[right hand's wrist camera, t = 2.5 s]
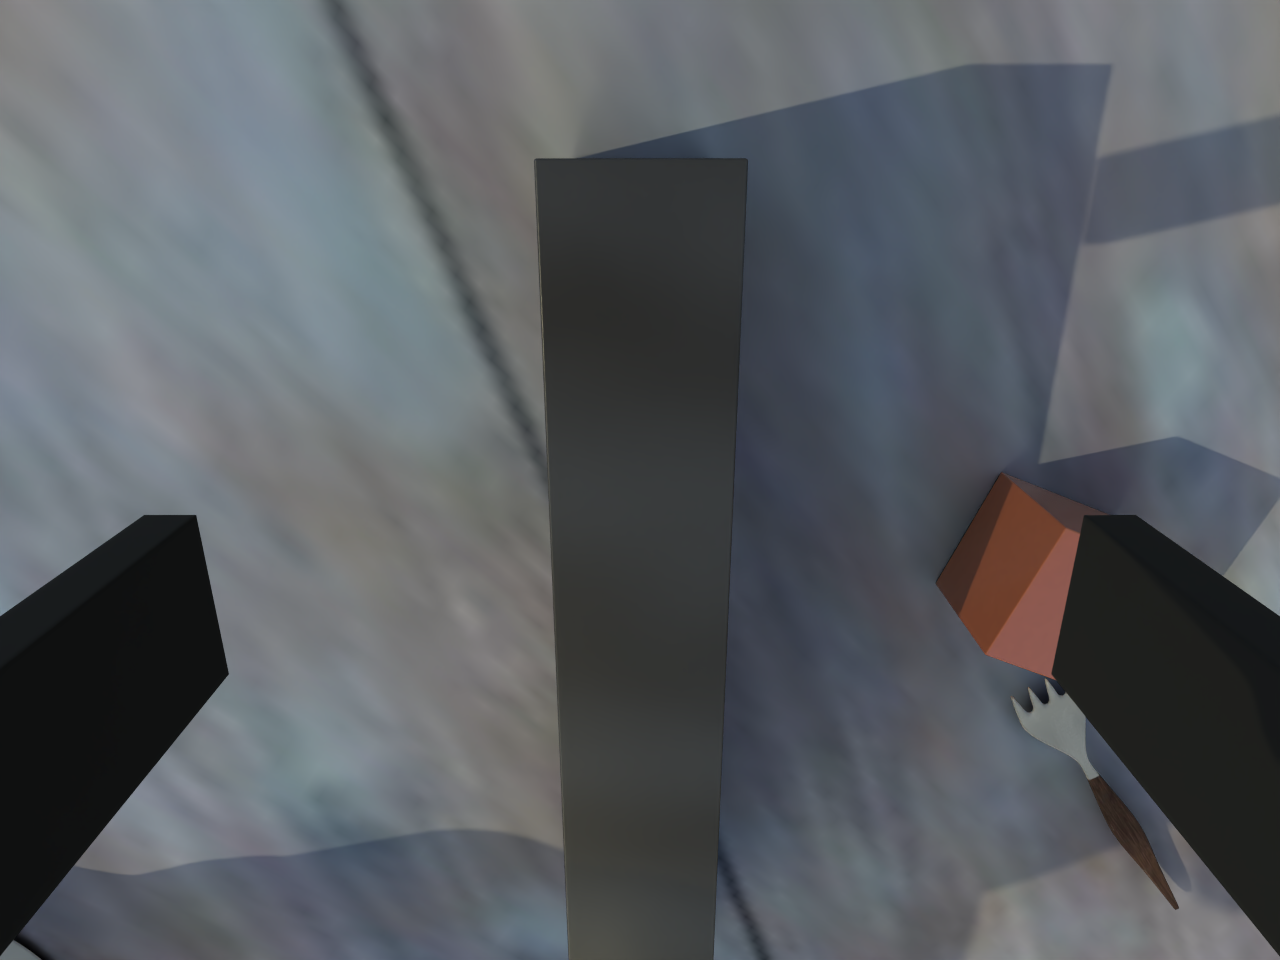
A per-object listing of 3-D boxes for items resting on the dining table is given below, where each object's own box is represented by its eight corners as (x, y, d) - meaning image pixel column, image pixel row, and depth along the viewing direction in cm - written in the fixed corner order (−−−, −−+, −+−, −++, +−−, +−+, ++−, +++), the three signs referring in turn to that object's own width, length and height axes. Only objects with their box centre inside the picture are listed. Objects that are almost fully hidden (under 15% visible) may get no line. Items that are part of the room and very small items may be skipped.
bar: (570, 159, 27) (533, 158, 17) (710, 159, 27) (748, 158, 17) (592, 935, 39) (577, 1179, 30) (688, 934, 39) (704, 1179, 30)
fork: (1142, 911, 38) (1168, 950, 36) (986, 670, 33) (1006, 701, 32) (1197, 887, 38) (1226, 924, 36) (1045, 638, 33) (1069, 667, 31)
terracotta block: (1001, 471, 31) (1066, 527, 26) (1116, 517, 31) (1200, 580, 27) (934, 583, 32) (984, 655, 28) (1046, 624, 33) (1113, 701, 28)
